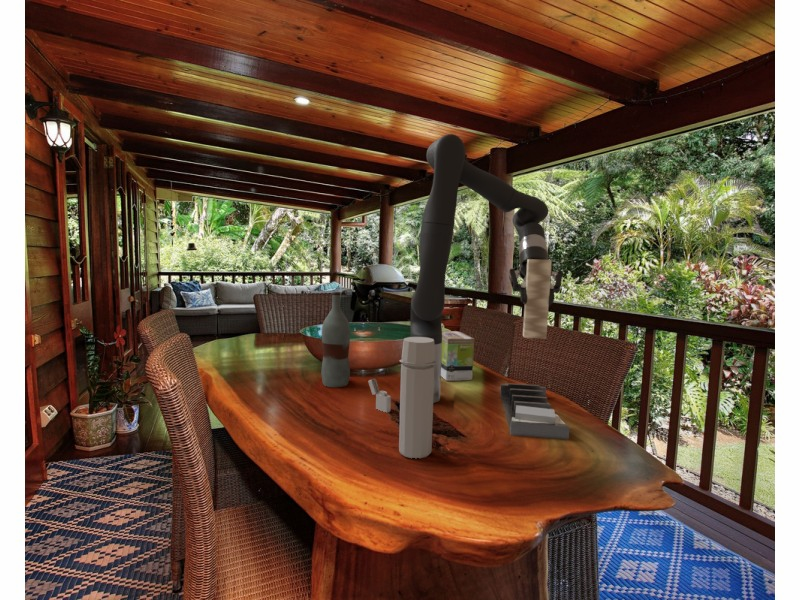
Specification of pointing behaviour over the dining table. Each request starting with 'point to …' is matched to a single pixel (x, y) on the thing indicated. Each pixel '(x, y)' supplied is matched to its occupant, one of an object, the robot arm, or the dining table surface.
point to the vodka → (335, 346)
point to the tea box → (457, 356)
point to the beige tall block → (537, 298)
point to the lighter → (380, 397)
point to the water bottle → (416, 397)
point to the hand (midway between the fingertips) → (537, 302)
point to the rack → (529, 398)
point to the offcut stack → (536, 415)
